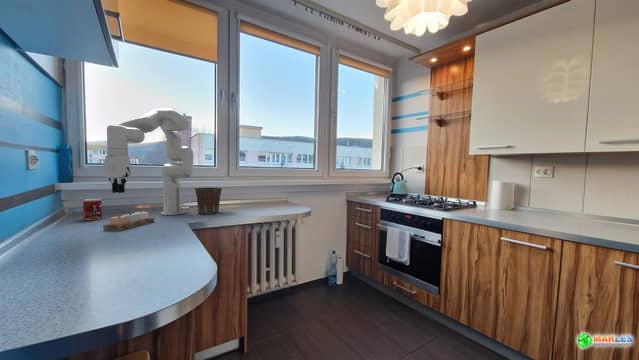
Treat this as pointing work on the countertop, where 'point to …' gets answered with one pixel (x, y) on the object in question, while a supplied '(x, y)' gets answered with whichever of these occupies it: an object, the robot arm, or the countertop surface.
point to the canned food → (92, 208)
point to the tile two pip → (132, 217)
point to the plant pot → (208, 200)
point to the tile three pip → (118, 220)
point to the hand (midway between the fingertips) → (118, 192)
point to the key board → (127, 225)
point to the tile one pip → (142, 215)
